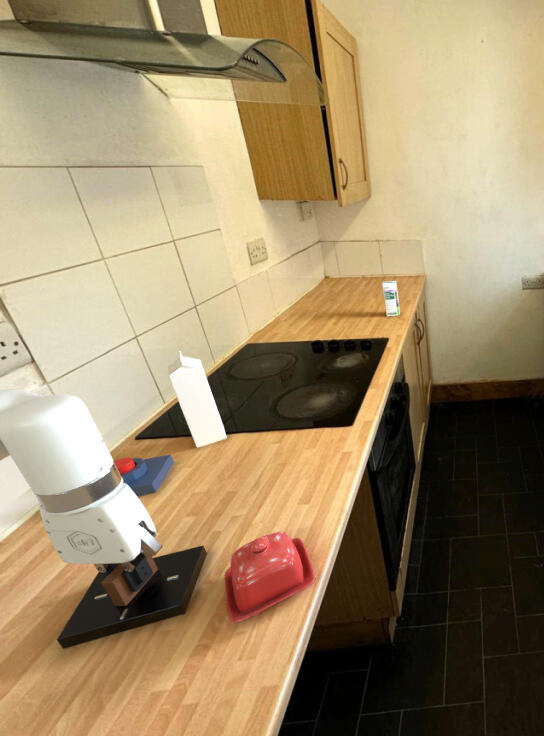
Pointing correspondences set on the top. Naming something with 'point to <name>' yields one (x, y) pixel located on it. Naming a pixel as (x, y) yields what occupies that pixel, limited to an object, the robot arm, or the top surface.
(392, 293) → the syrup box
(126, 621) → the panel
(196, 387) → the milk
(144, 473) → the button box
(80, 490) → the robot arm
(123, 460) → the button
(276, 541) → the butter dish
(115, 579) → the dial knob
